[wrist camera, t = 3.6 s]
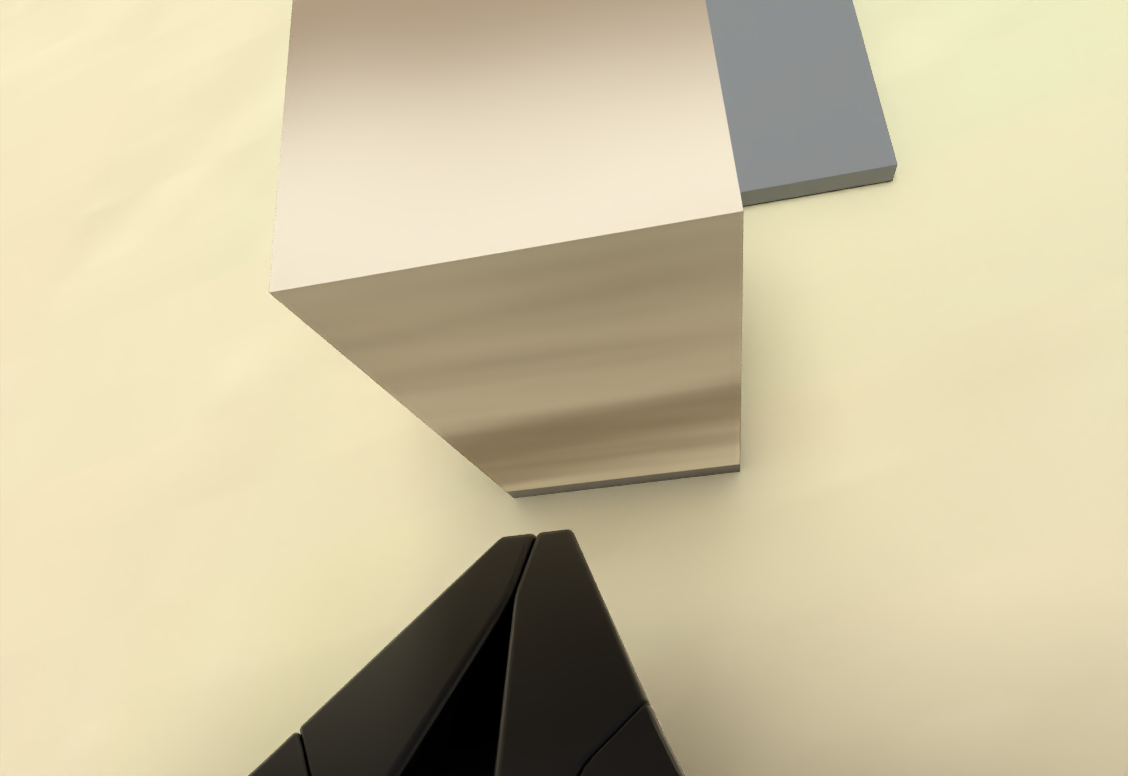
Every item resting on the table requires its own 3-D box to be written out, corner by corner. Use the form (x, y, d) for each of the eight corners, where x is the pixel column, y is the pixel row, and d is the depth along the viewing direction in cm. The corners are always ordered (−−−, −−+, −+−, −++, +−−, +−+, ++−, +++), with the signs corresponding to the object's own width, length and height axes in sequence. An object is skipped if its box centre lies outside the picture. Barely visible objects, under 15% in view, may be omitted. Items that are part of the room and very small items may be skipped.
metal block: (739, 471, 17) (743, 211, 7) (514, 498, 17) (268, 291, 8) (707, 268, 18) (679, -141, 9) (505, 300, 19) (296, -45, 10)
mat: (892, 180, 18) (897, 164, 18) (338, 276, 21) (327, 265, 20) (788, -206, 23) (789, -227, 23) (355, -94, 26) (346, -111, 25)
